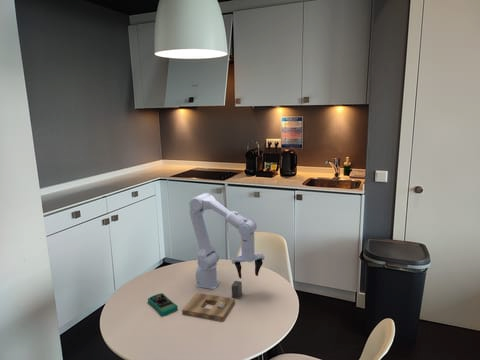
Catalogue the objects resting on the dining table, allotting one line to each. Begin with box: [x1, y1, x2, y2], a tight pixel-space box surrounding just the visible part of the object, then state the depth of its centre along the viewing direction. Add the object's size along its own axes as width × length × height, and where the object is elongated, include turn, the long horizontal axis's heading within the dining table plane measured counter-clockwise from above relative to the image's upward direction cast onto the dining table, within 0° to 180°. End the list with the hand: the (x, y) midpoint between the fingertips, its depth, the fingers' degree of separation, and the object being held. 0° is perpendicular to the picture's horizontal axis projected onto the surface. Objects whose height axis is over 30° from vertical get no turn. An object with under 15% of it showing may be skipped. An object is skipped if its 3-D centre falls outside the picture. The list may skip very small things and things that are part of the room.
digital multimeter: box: [147, 292, 179, 317], centre depth 154 cm, size 7×15×3 cm, turn 38°
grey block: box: [231, 280, 243, 300], centre depth 161 cm, size 3×4×6 cm
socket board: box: [181, 292, 236, 322], centre depth 152 cm, size 18×14×3 cm
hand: (248, 276), depth 160 cm, fingers open, 7 cm apart
